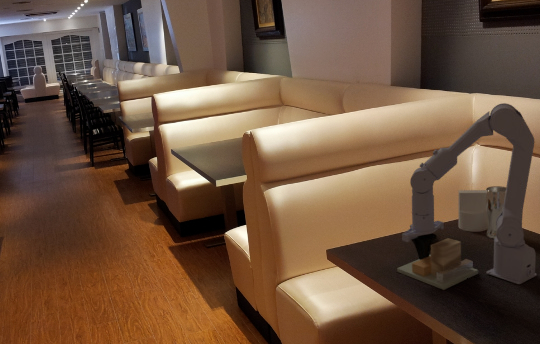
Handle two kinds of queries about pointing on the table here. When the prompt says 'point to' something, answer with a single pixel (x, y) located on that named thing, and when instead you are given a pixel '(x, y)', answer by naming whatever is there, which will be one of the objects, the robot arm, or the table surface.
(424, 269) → the block
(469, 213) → the white upright cylinder
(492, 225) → the beer glass
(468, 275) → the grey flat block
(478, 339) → the table surface
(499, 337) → the table surface
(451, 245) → the maple block
